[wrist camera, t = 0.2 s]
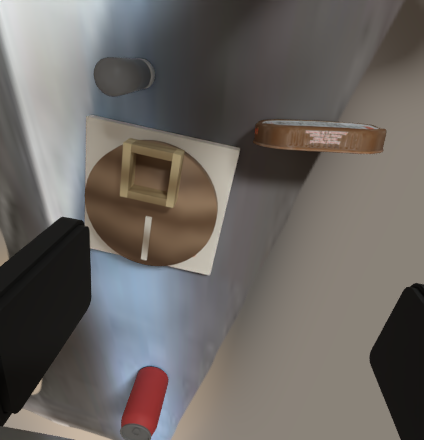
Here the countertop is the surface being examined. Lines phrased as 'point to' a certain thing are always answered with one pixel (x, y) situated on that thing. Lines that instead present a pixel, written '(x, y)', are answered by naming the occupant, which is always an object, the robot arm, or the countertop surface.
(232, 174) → the dial base
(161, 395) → the beer can
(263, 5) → the countertop surface
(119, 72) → the grey rounded cylinder
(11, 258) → the robot arm
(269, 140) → the tin
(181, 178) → the dial
